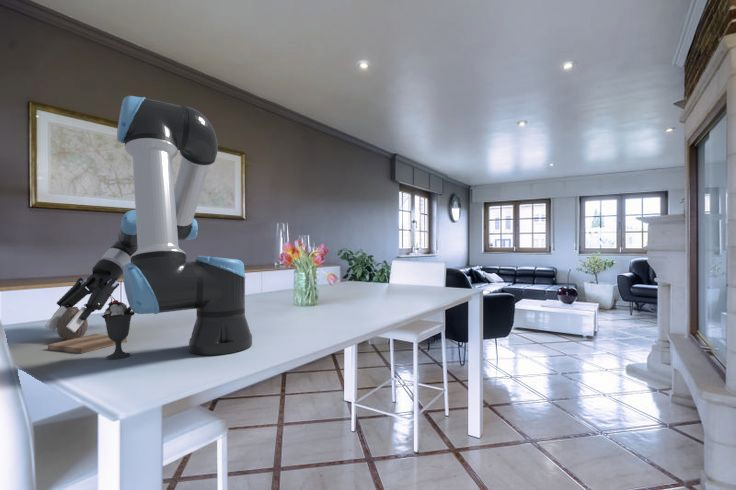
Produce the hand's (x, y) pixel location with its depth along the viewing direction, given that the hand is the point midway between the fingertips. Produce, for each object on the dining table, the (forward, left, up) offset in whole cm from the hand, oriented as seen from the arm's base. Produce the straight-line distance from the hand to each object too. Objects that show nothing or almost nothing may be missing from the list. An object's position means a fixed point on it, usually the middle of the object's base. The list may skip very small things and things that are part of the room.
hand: (59, 328), depth 105 cm
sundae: (-29, +6, -4) cm, 29 cm away
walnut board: (-12, 0, -3) cm, 12 cm away
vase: (0, -4, -4) cm, 5 cm away
